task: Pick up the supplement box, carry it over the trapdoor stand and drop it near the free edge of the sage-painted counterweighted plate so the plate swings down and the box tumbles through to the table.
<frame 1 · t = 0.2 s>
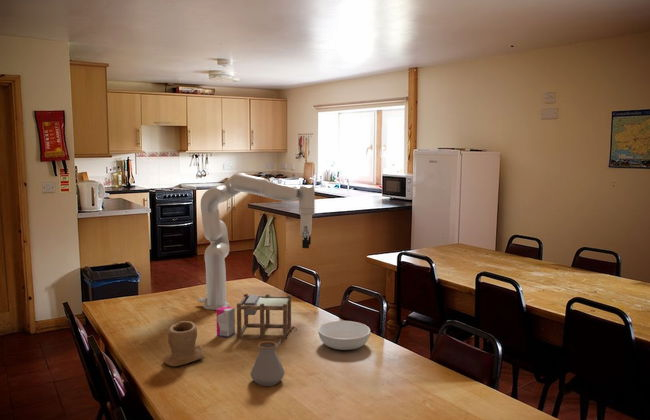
hand: (306, 246, 257), 31 cm above the table, fingers open, 9 cm apart
serving bowl: (344, 346, 213), on the table
stand: (260, 332, 228), on the table
trapdoor: (267, 305, 226), point 12 cm above the table, hinge at 0.0°
supplement box: (226, 335, 224), on the table
coffee pot: (276, 376, 184), on the table
stone cup: (186, 362, 196), on the table
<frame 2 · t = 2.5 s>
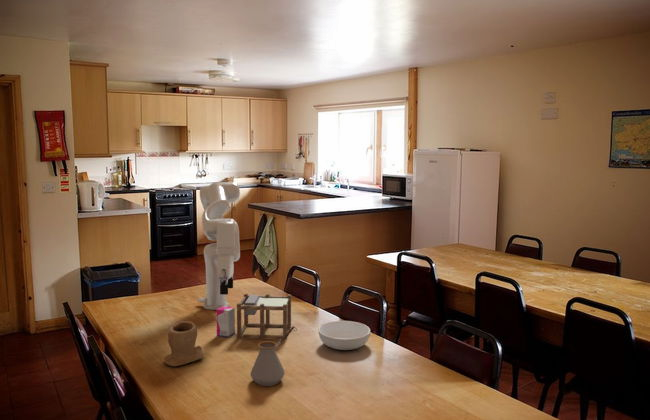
hand: (226, 291, 222), 19 cm above the table, fingers open, 9 cm apart
nothing on the table moved.
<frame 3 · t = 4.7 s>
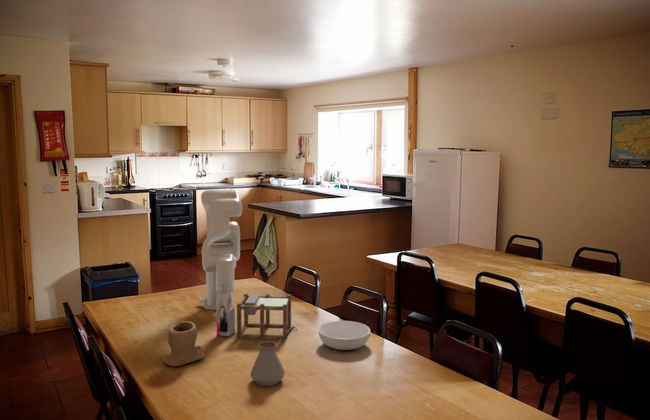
hand: (225, 328, 224), 3 cm above the table, fingers closed on supplement box, 6 cm apart
supplement box: (226, 335, 224), on the table, touching gripper
everything else where it was.
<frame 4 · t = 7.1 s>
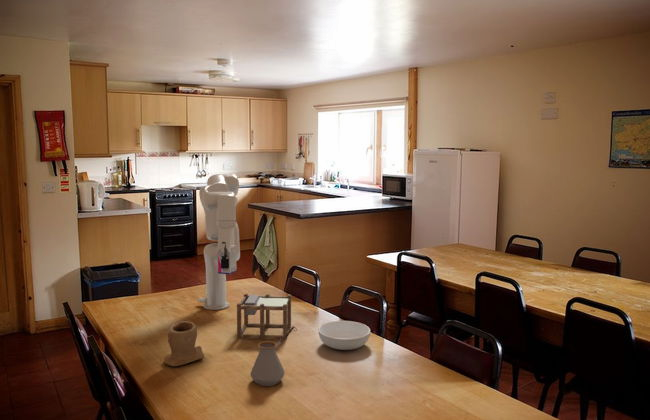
hand: (227, 265, 221), 30 cm above the table, fingers closed on supplement box, 6 cm apart
supplement box: (227, 272, 221), point 27 cm above the table, touching gripper
everything else where it was.
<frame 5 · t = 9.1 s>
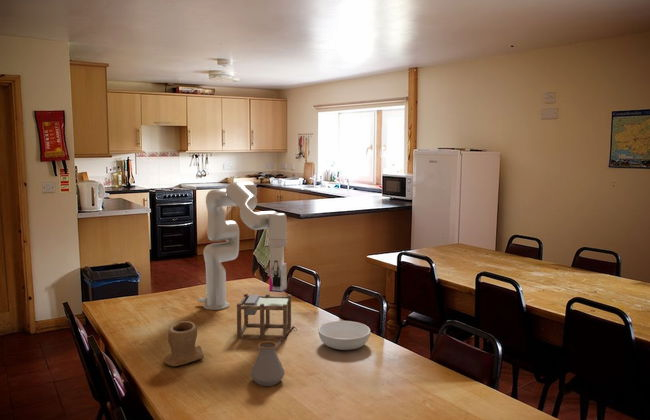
hand: (277, 283, 225), 21 cm above the table, fingers closed on supplement box, 6 cm apart
supplement box: (278, 290, 225), point 18 cm above the table, touching gripper
everything else where it was.
when the fingers open (19 cm above the table, at t = 9.9 s): supplement box drops 13 cm, point 3 cm above the table.
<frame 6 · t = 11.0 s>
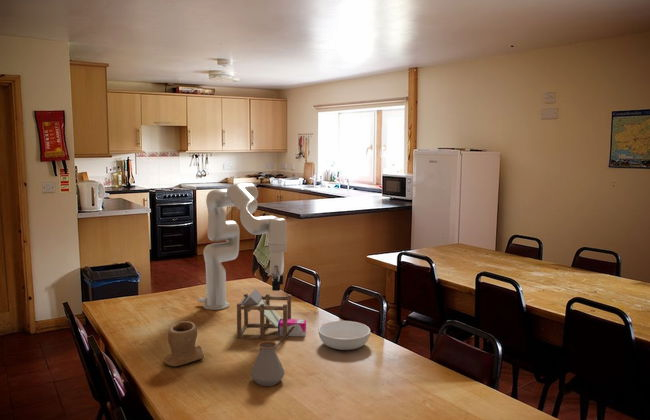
hand: (277, 287, 225), 20 cm above the table, fingers open, 9 cm apart
trapdoor: (263, 310, 226), point 10 cm above the table, hinge at -43.8°
supplement box: (278, 327, 225), point 3 cm above the table
everything else where it was.
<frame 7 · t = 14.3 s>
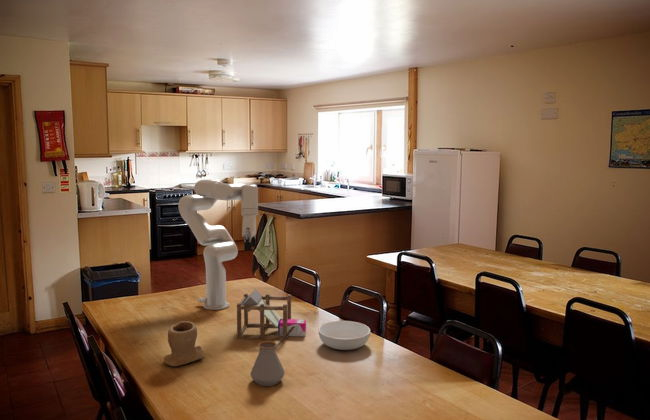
hand: (250, 248, 244), 32 cm above the table, fingers open, 9 cm apart
trapdoor: (263, 310, 226), point 10 cm above the table, hinge at -43.8°, touching supplement box
supplement box: (278, 327, 225), point 3 cm above the table, touching trapdoor
everything else where it was.
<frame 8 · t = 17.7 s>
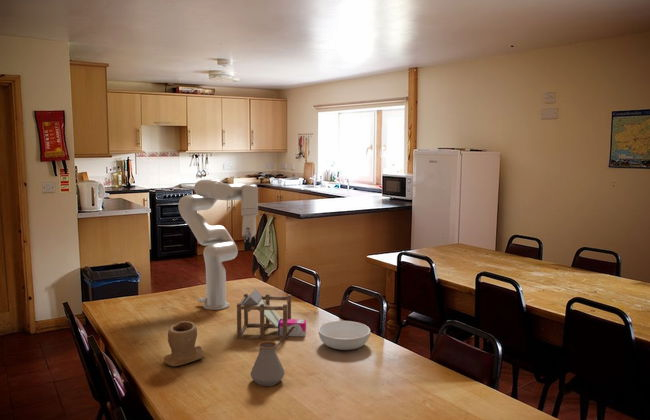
hand: (250, 248, 244), 32 cm above the table, fingers open, 9 cm apart
nothing on the table moved.
at the end: supplement box point 2.9 cm above the table; the gripper is holding nothing; supplement box moved 22.3 cm from its start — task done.
